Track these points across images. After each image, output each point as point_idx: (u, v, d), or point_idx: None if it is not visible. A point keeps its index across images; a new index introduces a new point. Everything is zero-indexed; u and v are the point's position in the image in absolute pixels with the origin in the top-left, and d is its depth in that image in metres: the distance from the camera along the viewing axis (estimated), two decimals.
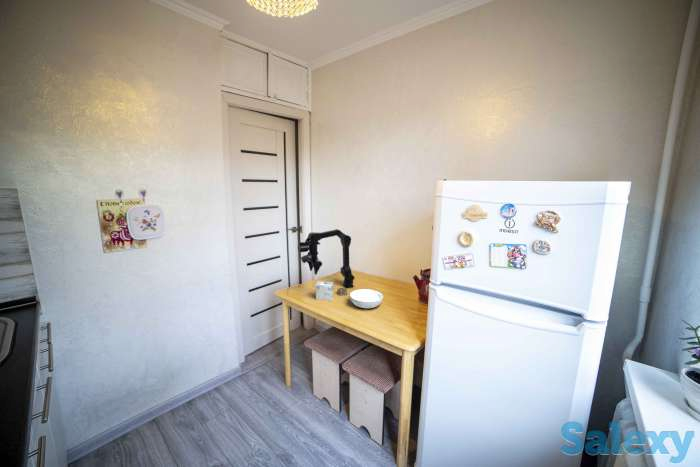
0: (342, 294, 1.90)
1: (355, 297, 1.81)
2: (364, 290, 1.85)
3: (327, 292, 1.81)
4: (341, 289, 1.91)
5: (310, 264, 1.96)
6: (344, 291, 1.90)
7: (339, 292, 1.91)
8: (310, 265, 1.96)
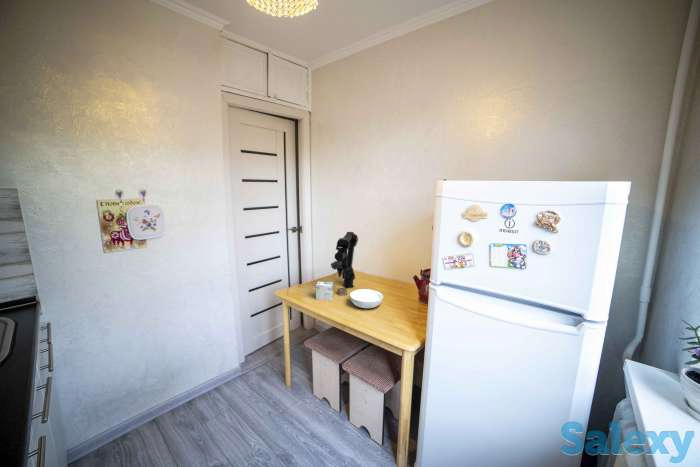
0: (342, 294, 1.90)
1: (355, 297, 1.81)
2: (364, 290, 1.85)
3: (327, 292, 1.81)
4: (341, 289, 1.91)
5: (339, 270, 1.94)
6: (344, 291, 1.90)
7: (339, 292, 1.91)
8: (339, 271, 1.94)
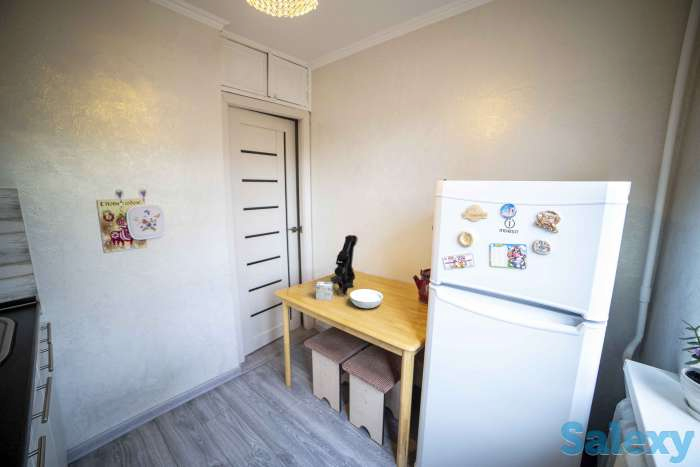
0: (342, 294, 1.90)
1: (355, 297, 1.81)
2: (364, 290, 1.85)
3: (327, 292, 1.81)
4: (341, 289, 1.91)
5: (340, 285, 1.94)
6: None
7: (339, 292, 1.91)
8: (340, 286, 1.94)
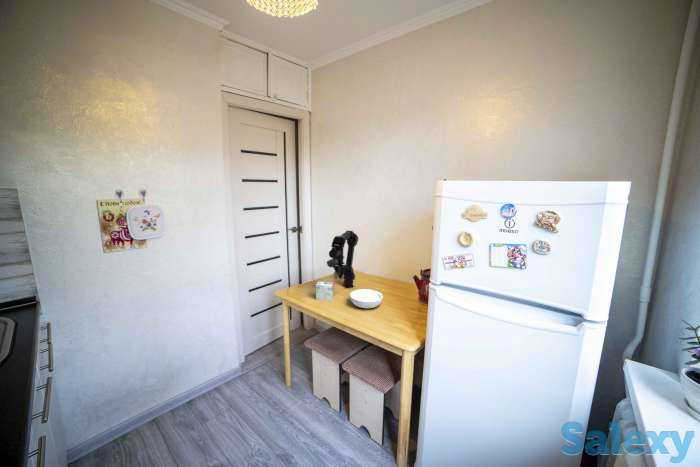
0: (338, 278, 1.86)
1: (355, 297, 1.81)
2: (364, 290, 1.85)
3: (327, 292, 1.81)
4: (337, 273, 1.87)
5: (336, 269, 1.90)
6: None
7: (335, 276, 1.87)
8: (336, 270, 1.90)
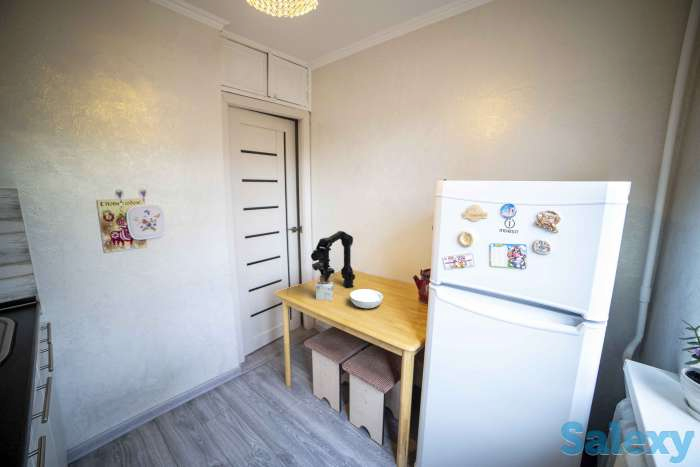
0: (324, 281, 1.80)
1: (355, 297, 1.81)
2: (364, 290, 1.85)
3: (327, 292, 1.81)
4: (323, 276, 1.82)
5: (322, 272, 1.85)
6: None
7: (321, 279, 1.81)
8: (322, 273, 1.85)
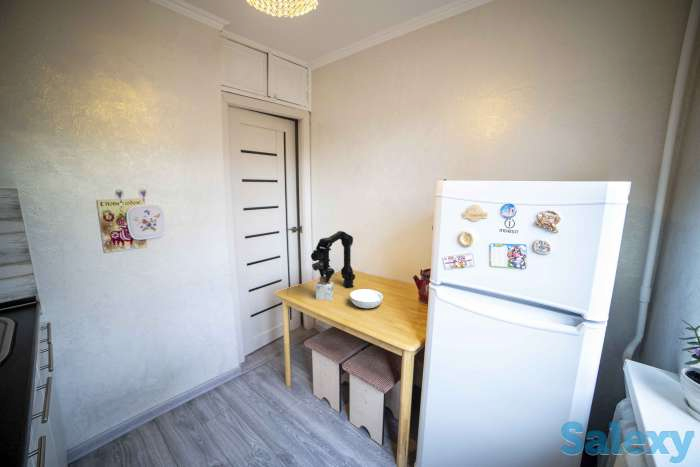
0: (324, 282, 1.80)
1: (355, 297, 1.81)
2: (364, 290, 1.85)
3: (327, 292, 1.81)
4: (323, 277, 1.82)
5: (321, 271, 1.86)
6: None
7: (321, 280, 1.82)
8: (321, 272, 1.86)
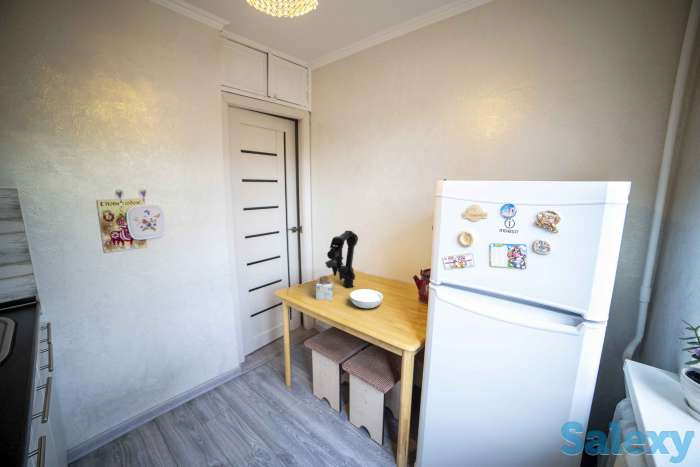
0: (324, 282, 1.80)
1: (355, 297, 1.81)
2: (364, 290, 1.85)
3: (327, 292, 1.81)
4: (323, 277, 1.82)
5: (334, 269, 1.91)
6: (326, 279, 1.81)
7: (321, 280, 1.82)
8: (334, 270, 1.91)
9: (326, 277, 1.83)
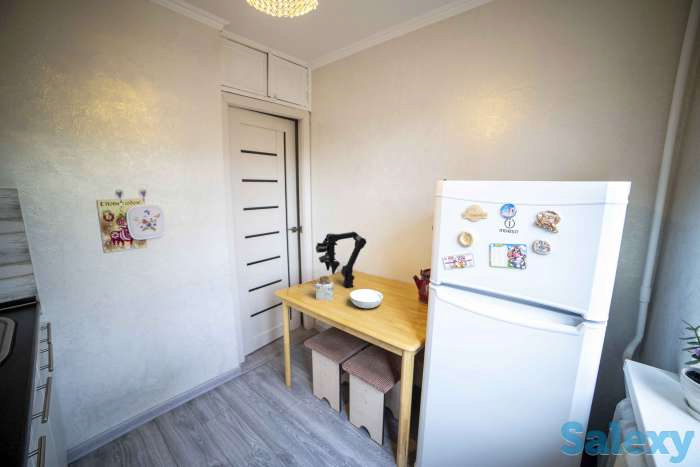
0: (324, 282, 1.80)
1: (355, 297, 1.81)
2: (364, 290, 1.85)
3: (327, 292, 1.81)
4: (323, 277, 1.82)
5: (327, 264, 2.02)
6: (326, 279, 1.81)
7: (321, 280, 1.81)
8: (327, 265, 2.02)
9: (326, 277, 1.83)
